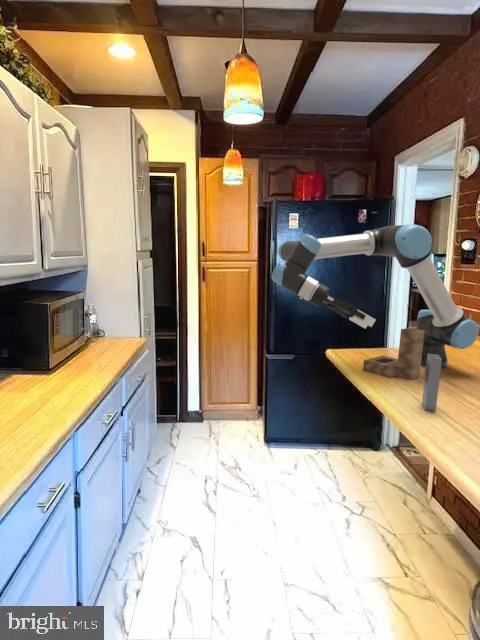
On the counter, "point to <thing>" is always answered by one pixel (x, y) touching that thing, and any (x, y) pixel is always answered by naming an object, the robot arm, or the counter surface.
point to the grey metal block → (431, 382)
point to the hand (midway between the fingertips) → (370, 324)
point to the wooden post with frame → (400, 357)
